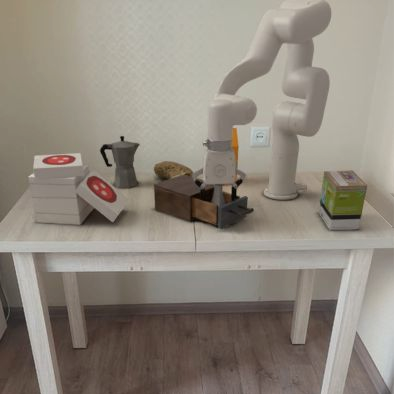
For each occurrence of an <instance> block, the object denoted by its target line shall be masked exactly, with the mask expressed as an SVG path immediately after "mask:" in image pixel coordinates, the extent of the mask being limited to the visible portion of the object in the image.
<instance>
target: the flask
mask: <svg viewBox="0 0 394 394" xmlns="http://www.w3.org/2000/svg"><path fill="white" fill-rule="evenodd" d="M213 186H214V194H213V198H212V200H211V203H212V204H216V205H218V210H219V207H220V206H222V205H225V204H226V203H225V200H224V196H223V192H224V191H223V187H224V186H225V185H224V184H213Z"/></svg>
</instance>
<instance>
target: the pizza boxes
mask: <svg viewBox="0 0 394 394" xmlns="http://www.w3.org/2000/svg"><path fill="white" fill-rule="evenodd" d="M33 159H34V160H33V168H32V169H33V173H31V174H29V176H27V179H28V184H29V188H30V194H31V200H32V204H33V209H34V214H35V219H36V223H40V224H41V223H42V224H59V225H77V226H80V225H81V226H82V224H83V222H84V221H85V220H86V219H87V217H88V216H89V215H90V214H91V213H92V211H93V210H94V209H95V210H96V211H98V212H99V213H101V215H103V216H104V217H105V218H106V219H108V220H109V221H110V222H111V223H114V221H115V220H116V219H117V218H118V217H119V215H120V213H121V212H122V210H123V209H124V208H125V206H127V205H126V204H127V203H128V202H129V201H130V199H129V198H128V197H127V196H126V195H124V193H122V192H121V191H119V190H118V189H117V187H116V186H115V187H114V186H113V184H111V183H110V182H109V181H108V180H106V179H105V178H104V177H103V176H102V175H101V174H99V173H98V172H97V171H96V170H92V171H91V172H90V168H89V165H88V164H83V161H82V154H81V152H75V153H59V154H57V153H56V154H55V153H54V154H42V155H41V154H40V155H38V154H37V155H34V156H33Z"/></svg>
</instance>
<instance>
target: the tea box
mask: <svg viewBox="0 0 394 394" xmlns="http://www.w3.org/2000/svg"><path fill="white" fill-rule="evenodd" d="M321 184H322V185H321V192H320V198H319V204H318V205H319V206H318V212H317V213H318V214H319V216H320V217H321V220H323V222H324V224H325V225H326V226H327V228H328V230H329V231H348V230H349V231H351V230H359V229H360V225H361V218H362V214H363V209H364V204H365V200H366V199H365V198H366V194H367V190H368V184H366V182H365V181H363V179H361V177H360V176H359V175H358V174H357V173H356V172H355V171H354V170H327V171H323V178H322V183H321Z"/></svg>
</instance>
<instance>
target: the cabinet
mask: <svg viewBox="0 0 394 394" xmlns="http://www.w3.org/2000/svg"><path fill="white" fill-rule="evenodd" d="M197 179H198V180H199V181H200V182H202V180H203V179H201V178H197ZM211 190H214V186H213V184H207V185H206V186H205V193H206V192H209V191H211ZM153 195H154V210H155V211H158V212H161V213H164V214H166V215H169V216H173V217H176V218H178V219H181V220H183V221H186V222H189V223H192V222H193V221H194V222H195V221H196V220H198V219H197V218H195V217H192V198H193V197H195V196H198V195H200V188H199V187H198V186H197V185H196V184H195V182H194V180H193V178H192V177H190V176H187V175H181V176H178V177H175V178H172V179H169V180H167V179H165V180H163V181H160V182H157V183H153Z"/></svg>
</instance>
